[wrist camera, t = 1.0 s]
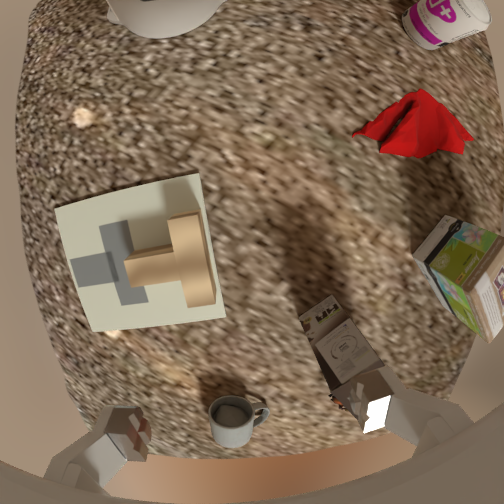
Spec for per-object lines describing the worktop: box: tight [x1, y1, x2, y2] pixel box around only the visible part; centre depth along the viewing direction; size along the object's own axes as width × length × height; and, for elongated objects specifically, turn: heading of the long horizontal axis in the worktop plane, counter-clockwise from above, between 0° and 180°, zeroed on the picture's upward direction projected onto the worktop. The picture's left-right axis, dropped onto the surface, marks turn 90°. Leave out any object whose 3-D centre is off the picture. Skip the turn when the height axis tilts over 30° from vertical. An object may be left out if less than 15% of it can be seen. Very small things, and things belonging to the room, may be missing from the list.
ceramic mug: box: [208, 395, 270, 448], centre depth 43 cm, size 11×8×8 cm
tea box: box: [412, 215, 504, 343], centre depth 35 cm, size 15×10×15 cm
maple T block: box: [124, 209, 217, 308], centre depth 35 cm, size 11×10×4 cm
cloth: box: [352, 89, 474, 158], centre depth 34 cm, size 26×14×2 cm, turn 86°
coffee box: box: [299, 295, 385, 420], centre depth 35 cm, size 9×6×16 cm
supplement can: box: [402, 0, 492, 50], centre depth 22 cm, size 8×8×15 cm
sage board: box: [55, 173, 226, 332], centre depth 37 cm, size 20×22×1 cm
